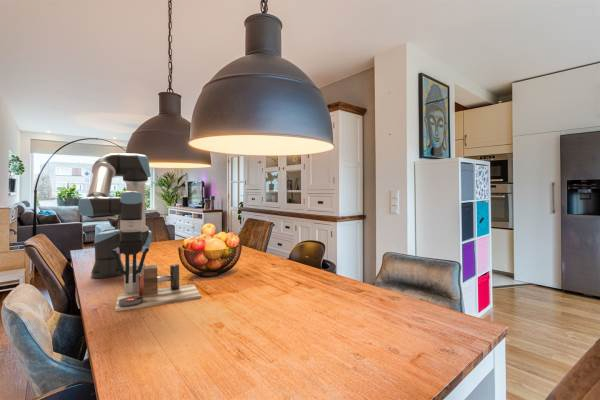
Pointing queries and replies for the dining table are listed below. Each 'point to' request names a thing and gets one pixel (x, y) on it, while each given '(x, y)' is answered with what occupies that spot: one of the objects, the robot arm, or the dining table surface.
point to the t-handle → (171, 277)
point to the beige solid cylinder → (136, 284)
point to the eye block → (158, 292)
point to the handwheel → (134, 299)
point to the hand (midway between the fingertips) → (130, 291)
